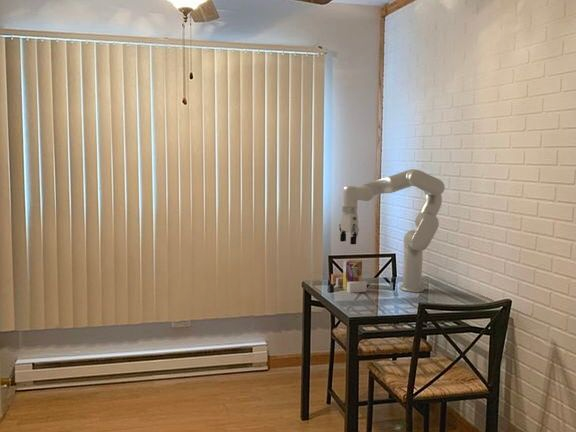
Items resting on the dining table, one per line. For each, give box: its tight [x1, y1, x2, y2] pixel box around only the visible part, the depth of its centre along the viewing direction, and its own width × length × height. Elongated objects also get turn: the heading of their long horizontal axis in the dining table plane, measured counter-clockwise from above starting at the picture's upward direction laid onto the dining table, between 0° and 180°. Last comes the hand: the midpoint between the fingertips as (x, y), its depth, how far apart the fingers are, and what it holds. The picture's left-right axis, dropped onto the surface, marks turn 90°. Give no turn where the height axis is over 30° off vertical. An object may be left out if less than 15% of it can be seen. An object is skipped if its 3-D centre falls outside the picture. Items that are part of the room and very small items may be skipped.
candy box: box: [342, 259, 363, 291], centre depth 313 cm, size 9×4×15 cm, turn 106°
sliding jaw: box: [330, 273, 343, 288], centre depth 322 cm, size 10×9×5 cm
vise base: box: [346, 280, 368, 294], centre depth 317 cm, size 14×22×6 cm, turn 25°
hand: (348, 242), depth 315 cm, fingers open, 9 cm apart
